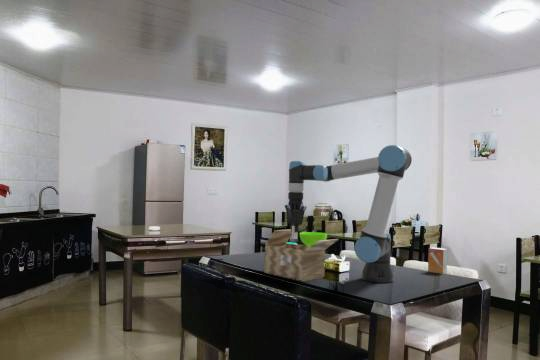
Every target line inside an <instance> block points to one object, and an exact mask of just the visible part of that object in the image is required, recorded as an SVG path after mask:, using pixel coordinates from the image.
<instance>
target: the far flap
mask: <svg viewBox="0 0 540 360" xmlns="http://www.w3.org/2000/svg"><path fill="white" fill-rule="evenodd" d="M291 238H292V232H291V228H290V229H277V230H275V229H274V230H273V232H272V233H271V235H270V237H269V238H268V240H267V241H266V243H265V245H272V244H283V243H287V242H289V240H290V239H291Z"/></svg>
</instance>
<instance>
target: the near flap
mask: <svg viewBox="0 0 540 360" xmlns="http://www.w3.org/2000/svg"><path fill="white" fill-rule="evenodd" d="M338 241H339V238H333V239H326V240H320V241H317V242H316V243H314V244H313V245H312V246H310V247H309V248H308V249H306V250H305V251H304V252H309V251H317V250H325V251H326V250H327V249H328V248H329V247H330V246H333V244H335V243H336V242H338Z"/></svg>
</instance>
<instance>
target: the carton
mask: <svg viewBox="0 0 540 360" xmlns="http://www.w3.org/2000/svg"><path fill="white" fill-rule="evenodd" d="M309 247H310V246H306V245H303V244H298V245H296V244H289V243H283V244H272V245H265V246H264V273H265V274H269V275H272V274H273V275H272V276H277V275H278V276H277V277H282V278H286V277H287V278H286V279H291V278H292V279H291V280H295V279H296V280H295V281H300V280H301V281H300V282H306V281H311V280H316V279H321V278H325V271H326V270H325V264H326V262H325V261H326V256H325V255H326V249H325V250H317V251H309V252H304V251H305V250H306V249H308V248H309Z"/></svg>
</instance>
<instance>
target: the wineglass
mask: <svg viewBox="0 0 540 360" xmlns="http://www.w3.org/2000/svg"><path fill="white" fill-rule="evenodd" d="M298 233H299V238H300V240H301V242H302V243H303V244H304V246H312V245H313V244H314V243H316V242H317V241H320V240H327V238H328V233H327V232H326V233H325V232H315V231H311V232H309V231H304V232H303V231H302V232H298Z"/></svg>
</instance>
